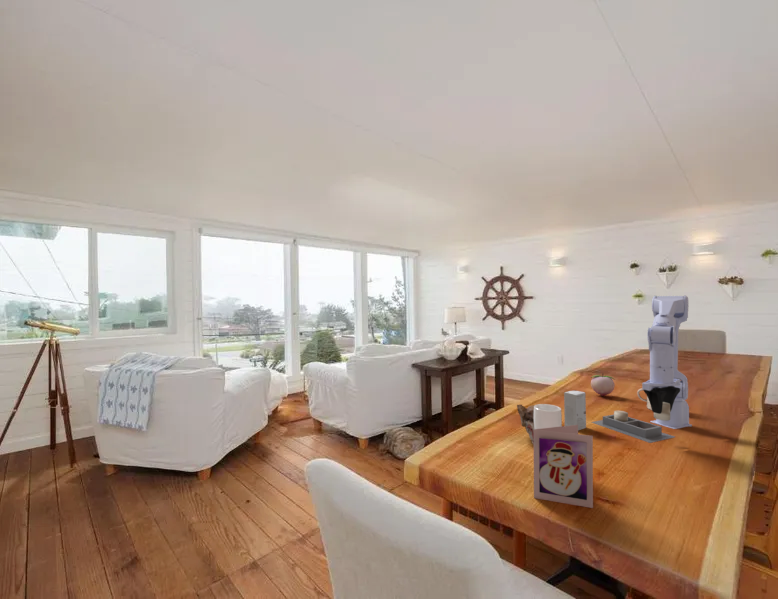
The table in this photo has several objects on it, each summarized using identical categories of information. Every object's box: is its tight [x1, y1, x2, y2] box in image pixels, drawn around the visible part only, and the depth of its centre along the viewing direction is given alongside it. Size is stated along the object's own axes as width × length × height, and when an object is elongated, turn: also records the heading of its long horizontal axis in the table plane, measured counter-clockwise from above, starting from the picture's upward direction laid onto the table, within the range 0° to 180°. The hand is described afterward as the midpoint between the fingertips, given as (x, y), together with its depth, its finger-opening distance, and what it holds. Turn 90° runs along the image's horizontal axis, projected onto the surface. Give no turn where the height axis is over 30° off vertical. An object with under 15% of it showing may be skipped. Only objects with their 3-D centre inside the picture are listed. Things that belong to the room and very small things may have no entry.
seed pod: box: [516, 404, 536, 446], centre depth 113 cm, size 13×16×15 cm
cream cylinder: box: [653, 402, 670, 421], centre depth 112 cm, size 4×4×4 cm
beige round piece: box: [613, 410, 629, 422], centre depth 125 cm, size 4×4×4 cm
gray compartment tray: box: [590, 414, 676, 444], centre depth 122 cm, size 12×20×3 cm, turn 22°
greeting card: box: [533, 425, 594, 509], centre depth 82 cm, size 11×7×15 cm, turn 69°
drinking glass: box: [534, 403, 563, 429], centre depth 98 cm, size 7×7×15 cm
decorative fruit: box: [590, 373, 616, 397], centre depth 165 cm, size 9×8×10 cm
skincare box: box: [563, 390, 587, 431], centre depth 124 cm, size 6×4×12 cm
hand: (661, 411), depth 112 cm, fingers closed on cream cylinder, 4 cm apart
